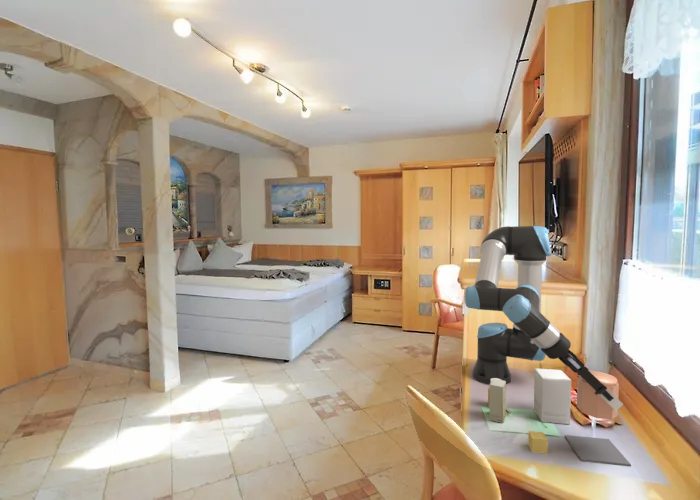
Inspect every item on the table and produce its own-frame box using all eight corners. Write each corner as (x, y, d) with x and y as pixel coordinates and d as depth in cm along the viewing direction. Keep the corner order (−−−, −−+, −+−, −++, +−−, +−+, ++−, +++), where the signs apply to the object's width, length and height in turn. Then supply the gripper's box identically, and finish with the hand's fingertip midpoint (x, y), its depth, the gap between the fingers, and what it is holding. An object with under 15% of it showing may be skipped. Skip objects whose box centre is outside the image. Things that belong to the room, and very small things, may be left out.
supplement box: (571, 425, 118) (572, 380, 117) (541, 422, 120) (542, 378, 119) (560, 411, 127) (562, 369, 126) (533, 409, 129) (534, 367, 128)
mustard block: (528, 443, 108) (528, 430, 108) (542, 445, 107) (543, 432, 107) (532, 452, 104) (532, 438, 104) (547, 453, 103) (547, 440, 103)
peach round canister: (573, 402, 109) (574, 369, 109) (606, 404, 107) (607, 371, 107) (586, 417, 100) (587, 381, 100) (622, 420, 99) (624, 384, 98)
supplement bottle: (487, 408, 129) (488, 382, 129) (488, 402, 134) (488, 376, 134) (504, 411, 127) (504, 384, 127) (504, 404, 132) (504, 378, 132)
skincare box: (502, 423, 119) (503, 387, 118) (488, 420, 122) (489, 384, 121) (506, 415, 124) (506, 380, 124) (492, 412, 127) (492, 378, 126)
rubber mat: (564, 436, 112) (564, 434, 112) (608, 440, 109) (608, 439, 109) (581, 460, 100) (581, 459, 100) (630, 466, 98) (631, 464, 97)
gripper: (529, 338, 117) (582, 390, 114) (552, 362, 95) (619, 427, 93) (547, 322, 115) (602, 375, 113) (575, 343, 94) (643, 409, 92)
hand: (609, 398), depth 103 cm, fingers closed on peach round canister, 9 cm apart
